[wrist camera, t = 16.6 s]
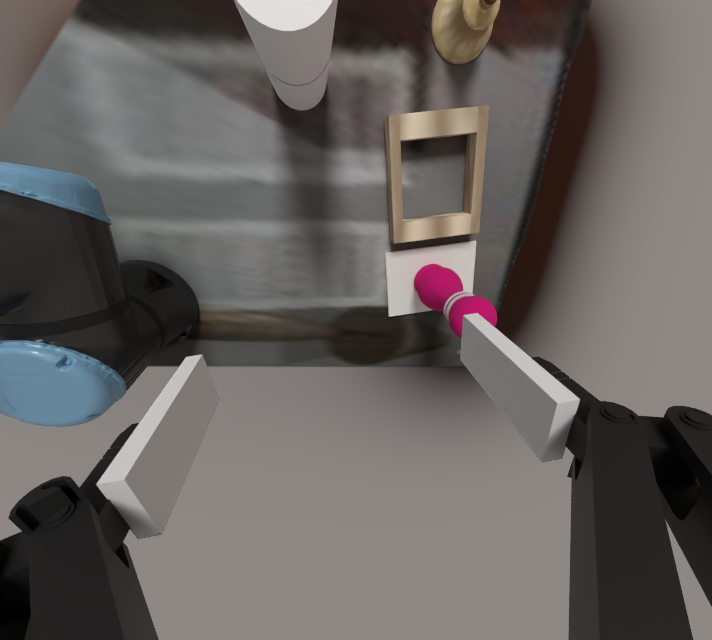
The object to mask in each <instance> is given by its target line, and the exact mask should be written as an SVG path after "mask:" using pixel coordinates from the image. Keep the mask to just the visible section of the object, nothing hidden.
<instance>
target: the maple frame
mask: <svg viewBox="0 0 712 640" xmlns="http://www.w3.org/2000/svg"><path fill="white" fill-rule="evenodd" d="M488 114H489V105H486V106H476V107H466V108H456V109H447V110H437V111H427V112H417V113H407V114H397V115H388V116H387V117H386V118H385V119H384V131H385V151H386V172H387V192H388V212H389V232H390V240H391V241H392V242H393V243H394V244H395V243H403V242H411V241H418V240H426V239H433V238H441V237H448V236H456V235H464V234H471V233H479V225H480V213H481V200H482V188H483V176H484V163H485V151H486V139H487V126H488ZM460 135H467V145H466V163H465V181H464V199H463V212H460V213H452V214H444V215H436V216H428V217H420V218H412V219H404V220H403V210H402V177H401V144H400V142H405V141H414V140H423V139H432V138H441V137H451V136H460Z"/></svg>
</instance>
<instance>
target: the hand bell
mask: <svg viewBox="0 0 712 640" xmlns="http://www.w3.org/2000/svg"><path fill="white" fill-rule="evenodd" d="M499 6H500V0H438V1H437V3H436V6H435V9H434V12H433V17H432V37H433V41H434V44H435V47H436V49H437V51H438V53H439V54H440V55H441V56H442V57H443V58H444V59H445V60H446V61H448V62H450V63H453V64H465V63H468V62H470V61H472V60H473V59H475V58H476V57H477V56H478V55H479V54H480V53H481V52H482V51H483V49H484V48H485V46H486V44H487V42H488V40H489V38H490V35H491V31H492V27H493V21H494V19H495V18H496V16H497V13H498V10H499Z"/></svg>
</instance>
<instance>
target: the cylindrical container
mask: <svg viewBox="0 0 712 640" xmlns="http://www.w3.org/2000/svg"><path fill="white" fill-rule="evenodd" d="M337 1H338V0H234V2H235V4H236V6H237V8H238V10H239V13H240V15H241V17H242V19H243V21H244V24H245V26H246V28H247V30H248V32H249V34H250V37H251V39H252V41H253V43H254V45H255V48H256V50H257V52H258V54H259V56H260V59H261V61H262V63H263V65H264V67H265V69H266V72H267V74H268V76H269V78H270V80H271V83H272V85H273V87H274V89H275V91H276V93H277V95H278V96H279V98H280V99H281V100H282V101H283V102H284V103H285V104H286V105H287V106H289V107H290V108H292V109H295V110H299V111H302V110H309V109H311V108H313V107H315V106H316V105H317V104H318V103H319V102H320V100H321V99H322V97H323V95H324V93H325V89H326V83H327V76H328V68H329V61H330V53H331V46H332V38H333V31H334V24H335V16H336V9H337Z"/></svg>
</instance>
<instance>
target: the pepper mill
mask: <svg viewBox="0 0 712 640" xmlns="http://www.w3.org/2000/svg"><path fill="white" fill-rule="evenodd" d="M414 288H415V290H416V292H417V293H418V296H419V298H420V300H421V302H422V303H423V304H424V305H425V306H427V307H428V308H430V309H432V310H435V311H442V312H444V316H445V318H446V319H447V320H448V321H449V324H450V328H451V329H452V331H453V332H454V333H455V334H456V335H457V336H458V337H460V338H462V325H463V315H467V314H474V313H478V314H479V315H480V316H482V317H483V318H484V319H485V320H486V321H488V322H489V323H490V324H491V325H492V326H494V327H495V326H496V322H497V313H496V310H495V308H494V306H493V305H492V304H491V303H490V302H489V301H488V300H487V299H485V298H483V297H480V296H475V295H473V294H472V293H470V292H467V291H463V284H462V281H461V279H460V277H459V276H458V275H457V274H456V273H455V272H454V271H453V270H451V269H449V268H446V267H442V266H440V265H438V264H428V265H426V266H424V267H422V268H421V269H420V270H419V271H418V272H417V274H416V275H415V278H414Z"/></svg>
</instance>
